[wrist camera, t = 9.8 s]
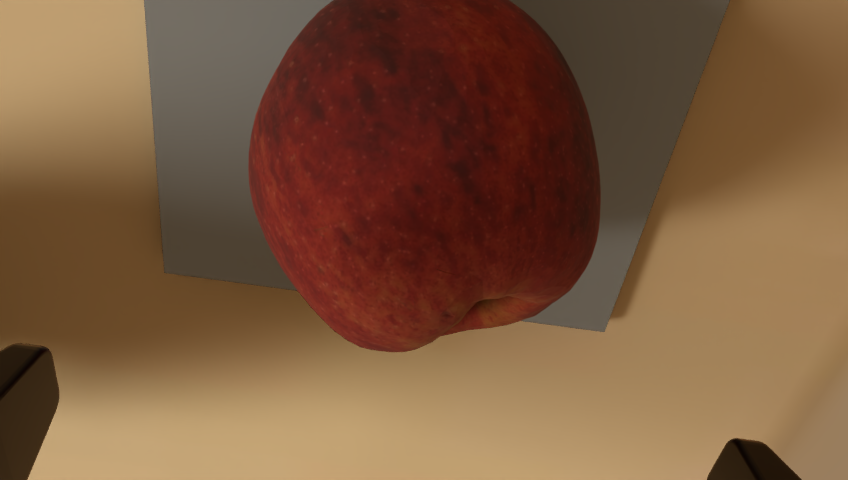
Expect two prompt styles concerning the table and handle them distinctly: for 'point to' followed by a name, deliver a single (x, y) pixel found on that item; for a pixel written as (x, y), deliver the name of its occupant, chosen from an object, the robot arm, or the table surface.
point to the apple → (425, 169)
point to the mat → (282, 22)
